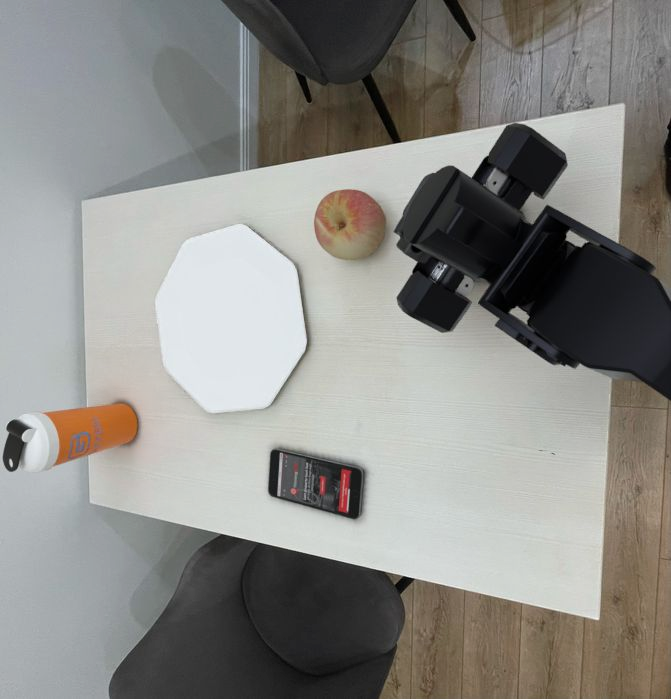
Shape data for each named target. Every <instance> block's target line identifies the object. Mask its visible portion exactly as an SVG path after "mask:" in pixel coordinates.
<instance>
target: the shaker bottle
mask: <svg viewBox="0 0 671 699" xmlns="http://www.w3.org/2000/svg"><path fill="white" fill-rule="evenodd" d="M138 427H139V426H138V418H137V415H136V413H135V411H134V409H133V408H132V407H131V406H130V405H128V404H127V403H122V402H119V403H112V404H103V405H94V406H87V407H78V408H70V409H62V410H53V411H45V412H42V411H33V412H29V413H24V414H21V415H19V417H17V418H13V419H10V420H9V421H8V422H7V423H6V425H5V430H6V432H7V433H8V434H7V437H6V440H5V443H4V448H3V452H2V463H3V466H4V468H5V470H6V471H8V472H10V473H14V472H16V471H17V470H18V468H19V469H21V470H23V471H25V472H27V473H30V474H39V473H41V472H45V471H49V470H51V469H52V468H53V467H56V466H60V465H63V464H66V463H69V462H72V461H75V460H78V459H81V458H85V457H88V456H90V455H93V454H97V453H100V452H102V451H107V450H109V449H112V448H115V447H119V446H122V445H124V444H129V443H131V442H132V441H133V440H134V439H135V438H136V435H137V433H138Z"/></svg>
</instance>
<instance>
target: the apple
mask: <svg viewBox="0 0 671 699" xmlns="http://www.w3.org/2000/svg"><path fill="white" fill-rule="evenodd" d="M313 219H314V220H313V228H314V234H315V238H316V241H317V243H318V244H319V245H320V247H321V248H322V249H323V250H324V251H325V252H326V253H327V254H328V255H330V256H331V257H334V258H335V259H338V260H343V261H349V262H353V261H354V262H355V261H360V260H363V259H365V258H367V257H369V256H370V255H372V254H373V253H375V251H376V250H378V248H379V247H380V245H381V244H382V242H383V240H384V237H385V234H386V230H387V218H386V215H385V212H384V211H383V208H382V207H381V205H380V204H379V203H378V201H377V200H376V199H375V198H374V197H372V196H371V195H370V194H369V193H366V192H365V191H362V190H358V189H353V188H351V189H350V188H349V189H348V188H347V189H337V190H335V191H332V192H329V193H328V194H326V195H325V196H324V197H323V198H322V199H321V200H320V202H319V203H318V204H317V207H316V210H315V213H314V218H313Z"/></svg>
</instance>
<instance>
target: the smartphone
mask: <svg viewBox="0 0 671 699" xmlns="http://www.w3.org/2000/svg"><path fill="white" fill-rule="evenodd" d="M268 468H269V470H268V488H267V493H268V495H269V496H270V497H271V498H275V499H279V500H282V501H285V502H289V503H293V504H296V505H300V506H303V507H304V506H305V507H309V508H310V509H311V508H312V509H314V510H319V511H321V512H326V513H330V514H333V515H337V516H341V517H343V518H348V519H350V520H351V519H352V520H357V519H359V518H360V516H361V514H362V513H361V512H362V501H363V499H362V498H363V488H364V486H363V485H364V475H365V474H364V470H363V468H362V467H360V466H357V465H351V464H347V463H345V462H344V463H343V462H339V461H334V460H330V459H326V458H320V457H316V456H312V455H308V454H304V453H299V452H294V451H290V450H285V449H281V448H277V447H275V448H272V449H271V450H270V453H269V467H268Z"/></svg>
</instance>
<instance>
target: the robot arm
mask: <svg viewBox="0 0 671 699" xmlns="http://www.w3.org/2000/svg"><path fill="white" fill-rule="evenodd" d="M568 166H569V165H568V158H567V154H566V152H565V151H563V150H562V149H561V148H560V147H558V146H556V145H555V144H554V143H553V142H551V141H550V140H549V139H547V138H546V137H545V136H544V135H542V134H541V133H539V132H538V131H537V130H535V128H533V127H531V126H528V125H527V124H525V123H519V122H514V123H510V124H507V125H506V126H505V127H504V128H503V130H502V131H501V133H500V135H499V137H498V138H497V140H496V141H495V143H494V145H492V147H491V149H490V151H489V152H488V155H486V156H485V157H484V158H483V159H482V161H481V162H480V163H479V165H478V166H477V168H476V170H475V171H474V173H473V174H472V176H469V175H468V174H467V173H465V172H464V171H462V170H460V169H459V167H456V166H455V165H450V164H449V165H446V166H443V167H441V168H439V170H437V171H436V172H431V173H429V174H426V175H424V177H423V178H422V179H421V181H420V182H419V184H418V186H417V188H416V189H415V191H414V192H413V193H412V196H411V198H410V199H409V201H408V202H407V204H406V206H405V207H404V209H403V211H402V216H401V217H400V219H399V221H398V222H397V224H396V226H395V228H394V230H393V233H394V234H396V235H397V236H399V239H398V241H397V243H396V248H397V249H398V250H400V251H401V253H403V254H404V255H405V256H407V257H409V258H410V259H412V260H413V261H415V262H417V263H416V264H415V265H414V267H413V269H412V271H411V274H410V276H409V277H408V279H407V280H406V282H405V284H404V285H403V287H402V288H401V290H400V291H399V293H398V294H397V296H396V302H397V306H398V307H399V309H400V311H402V312H403V313H404V314H406V315H407V316H409V317H410V318H412V319H414V320H415V321H418V322H420V323H422V324H424V325H426V326H428V327H430V328H431V329H434V330H436V331H437V332H439V333H442V334H444V333H445V334H446V333H450V332H451V333H452V332H454V331H455V329H456V327H457V326H458V325H459V323H460V322H461V320H462V319H463V317H464V316H465V314H466V313H467V312H468V310H469V308H470V307H471V306H472V304H473V303H474V302H473V301H472V300H471V299H469V298H468V296H469V295H470V293H471V292H472V290H473V289H474V288H475V287H474V286H475V282H485V283H486V284H487V285H489V286H488V287H487V288H486V290H485V292H484V293H483V295H482V296H481V297H480V298H479V300H478V301H477V304H478V305H479V306H480V307H482V308H483V309H485V310H486V311H488V312H489V313H490V314H491V315H493V316H494V317H496V318H497V319H498V320H497V321H496V322H495V324H494V327H496V328H497V329H498V330H500V331H501V332H503V333H504V334H506V335H508V336H509V337H510V338H512V339H513V340H515V341H516V342H518V343H519V344H521V345H522V346H524V347H525V348H527V349H528V350H529V351H531V352H532V353H534V354H535V355H536V356H538V357H540V358H541V359H543V361H545V362H547V363H549V364H550V365H552V366H563V367H566V366H568V367H570V368H572V369H574V370H576V369H577V368H578V367H579V366H580V365H581V366H583V367H585V368H587V369H590V370H591V371H594V372H596V373H599V374H601V375H603V376H605V377H608V378H611V379H613V380H617V381H626V382H636V383H644V384H645V385H647V386H648V387H650V388H651V389H653V390H654V391H656V392H657V393H658V394H660V395H661V396H663V397H664V398H666V399H667V400H669V401H670V402H671V288H670V287H668V286H667V285H666V284H664V282H663V281H661V280H660V279H659V278H658V277H657V276H655V275H653V274H654V272H655V271H656V270H657V269H658V268H657V267H656V266H655V265H654V264H653V263H652V262H650V261H648V260H647V259H646V258H644V257H643V256H641V255H639V254H638V253H636V252H635V251H632V250H631V249H629V248H628V247H626V246H624V245H623V244H620V243H618V242H616V241H614V240H613V239H611V238H609V237H607V236H606V235H603V233H600V232H598V231H597V230H595V229H593V228H591V227H589V226H588V225H586V224H584V223H582V222H580V221H578V220H577V219H576V218H575V219H574V218H573V217H571V216H569V215H567V214H566V213H564V212H562V211H560V210H558V209H556V208H554V207H553V206H551V205H549V204H546V205H545V206H544V208H542V211H541V212H540V213H539V215H537V217H536V219H535V220H534V222H533V223H532V222H529V221H528V220H527V219H526V217H525V214H524V212H523V211H521V210H522V208H523V207H524V205H526V204H525V203H526V202H527V201H528V200H529V198H530V196H531V195H532V193H533V195H534V196H535V197H537V198H539V199H541V200H546V198H547V196H548V195H549V194H550V192H551V191H552V190H553V188H554V186H555V185H556V184H557V182H558V181H559V179H560V178H561V176H562V175H563V173H564V172H565V170H566V169H567V168H568ZM569 232H571V233H573V234H575V235H576V236H578V237H580V238H581V239H583V240H584V241H586V242H584V243H583V244H582V245H581V246H580V245H575V244H574V243H573V242H571V241H569V240H567V238H568V235H567V234H568V233H569ZM516 308H519V309H520V310H521V311H522V312H524V313H525V314H526V315H527V316H528V318H527V320H526V322H525V321H523V320H521V319H520V318H519V317H517V316H515V315H514V314H513V313H511V311H512V310H514V309H516Z"/></svg>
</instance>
